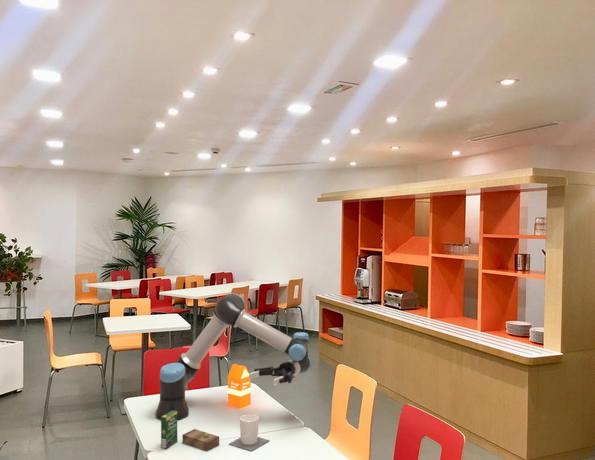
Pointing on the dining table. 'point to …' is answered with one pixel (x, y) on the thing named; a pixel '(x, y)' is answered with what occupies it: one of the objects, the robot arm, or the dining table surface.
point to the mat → (249, 447)
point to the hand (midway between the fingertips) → (261, 379)
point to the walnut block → (201, 440)
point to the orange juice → (239, 387)
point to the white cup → (249, 429)
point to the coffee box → (169, 429)
